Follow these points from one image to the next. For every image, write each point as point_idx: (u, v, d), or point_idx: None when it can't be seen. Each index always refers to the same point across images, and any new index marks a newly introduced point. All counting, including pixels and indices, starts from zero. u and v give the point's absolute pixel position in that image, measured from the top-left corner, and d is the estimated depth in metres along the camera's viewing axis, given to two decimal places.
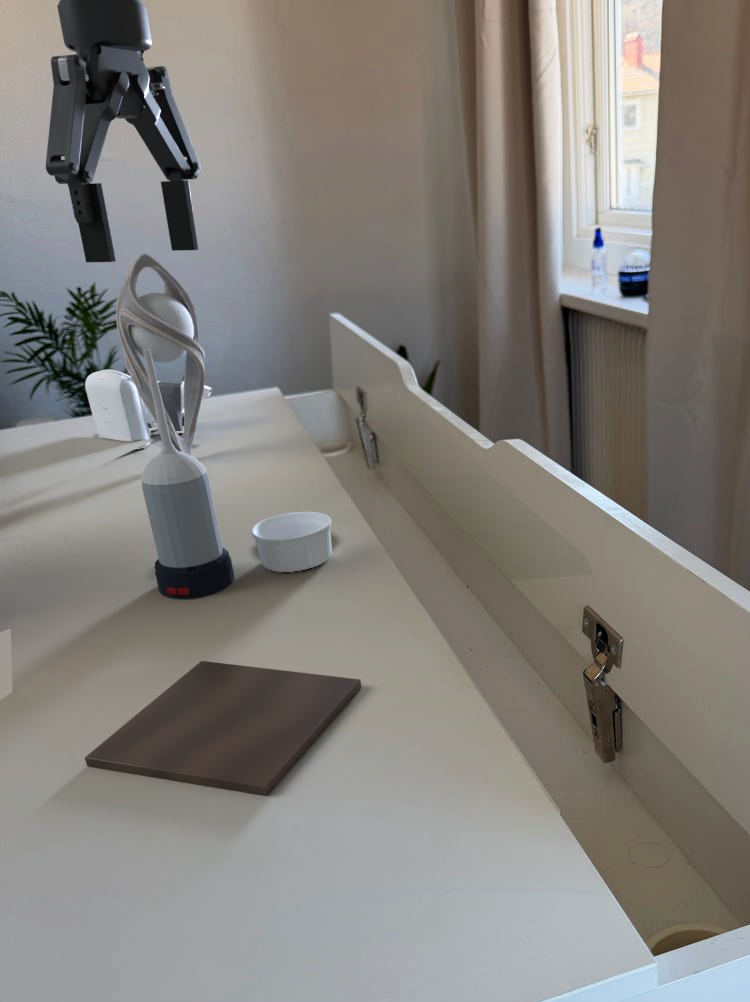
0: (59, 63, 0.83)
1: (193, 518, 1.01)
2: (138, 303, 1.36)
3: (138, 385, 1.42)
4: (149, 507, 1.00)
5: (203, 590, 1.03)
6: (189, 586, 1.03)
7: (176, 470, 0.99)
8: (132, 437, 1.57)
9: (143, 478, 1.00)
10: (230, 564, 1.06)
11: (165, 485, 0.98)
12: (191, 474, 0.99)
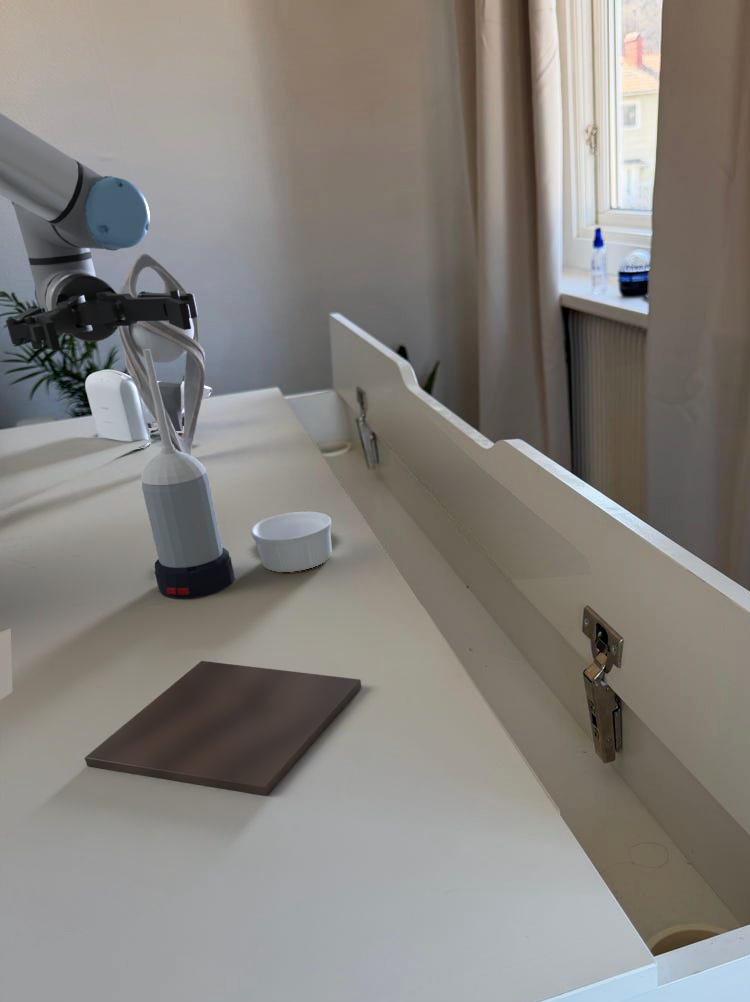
0: None
1: (193, 518, 1.01)
2: None
3: (138, 385, 1.42)
4: (149, 507, 1.00)
5: (203, 590, 1.03)
6: (189, 586, 1.03)
7: (176, 470, 0.99)
8: (132, 437, 1.57)
9: (143, 478, 1.00)
10: (230, 564, 1.06)
11: (165, 485, 0.98)
12: (191, 474, 0.99)
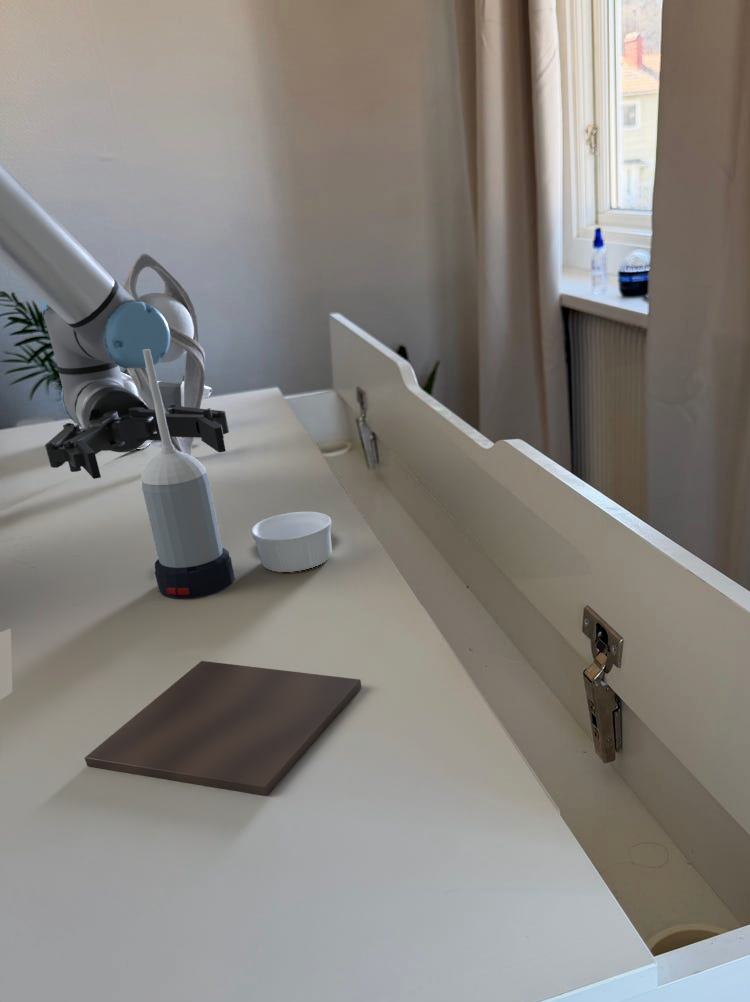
0: None
1: (193, 518, 1.01)
2: None
3: (138, 385, 1.42)
4: (149, 507, 1.00)
5: (203, 590, 1.03)
6: (189, 586, 1.03)
7: (176, 470, 0.99)
8: None
9: (143, 478, 1.00)
10: (230, 564, 1.06)
11: (165, 485, 0.98)
12: (191, 474, 0.99)
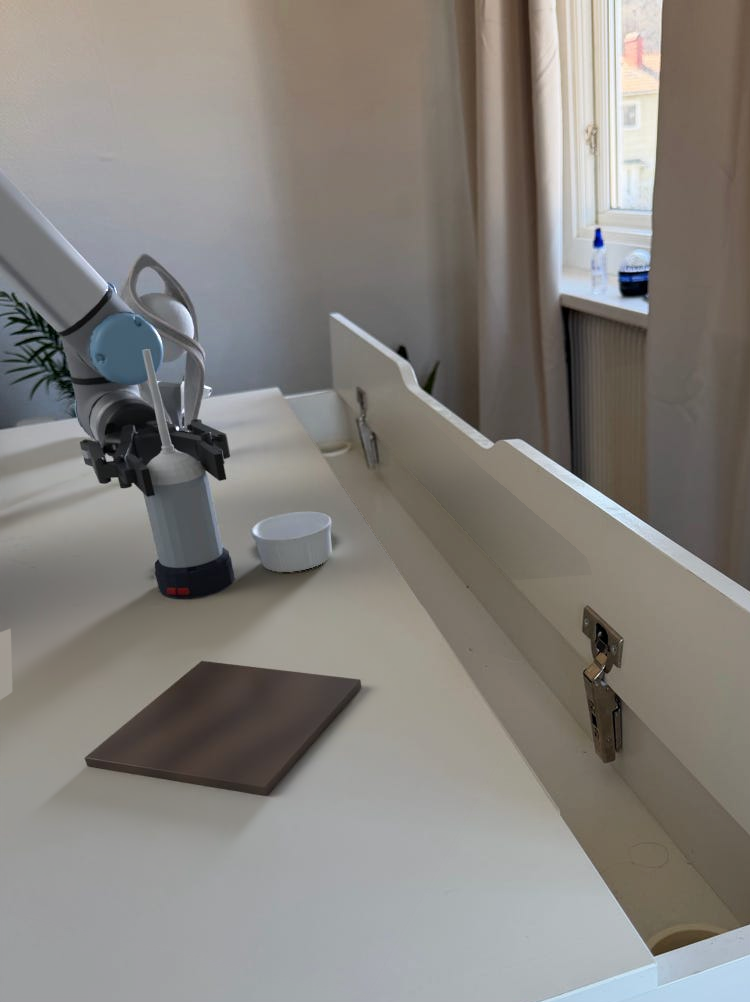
0: None
1: (193, 518, 1.01)
2: (138, 303, 1.36)
3: (138, 385, 1.42)
4: (149, 507, 1.00)
5: (203, 590, 1.03)
6: (189, 586, 1.03)
7: (176, 470, 0.99)
8: None
9: None
10: (230, 564, 1.06)
11: (165, 485, 0.98)
12: (191, 474, 0.99)
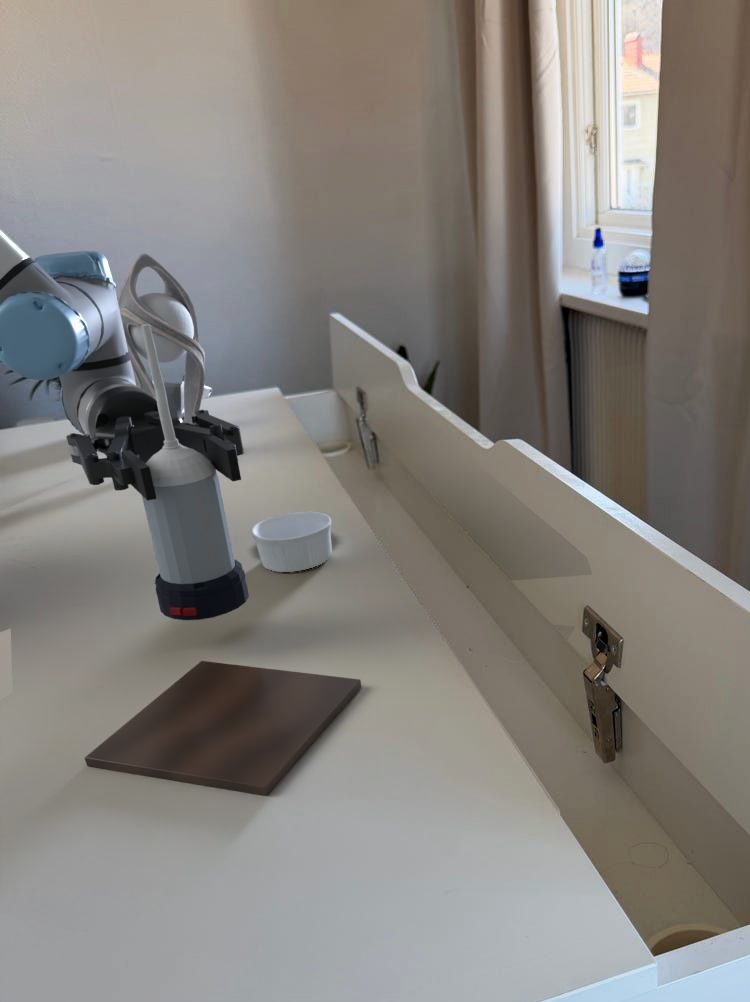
0: None
1: (201, 525, 0.85)
2: (138, 303, 1.36)
3: (138, 385, 1.42)
4: (149, 513, 0.85)
5: (213, 610, 0.88)
6: (196, 606, 0.87)
7: (181, 469, 0.83)
8: None
9: None
10: (244, 579, 0.90)
11: (168, 486, 0.83)
12: (199, 474, 0.84)
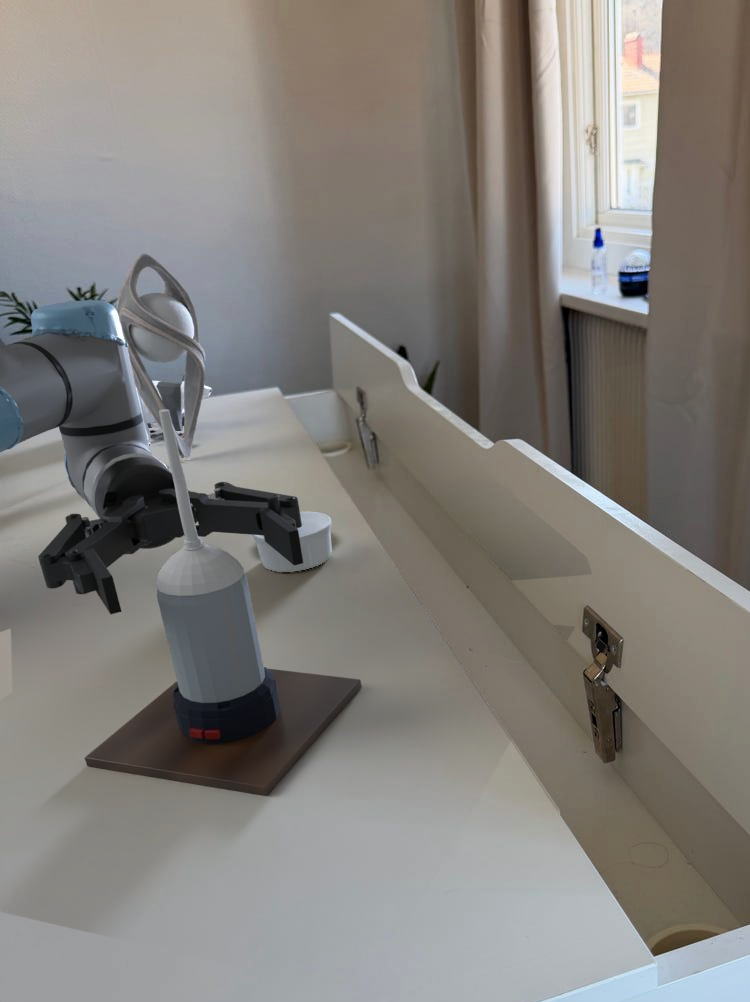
0: None
1: (227, 638, 0.73)
2: (138, 303, 1.36)
3: (138, 385, 1.42)
4: (166, 623, 0.73)
5: (239, 732, 0.76)
6: (221, 728, 0.75)
7: (204, 575, 0.71)
8: None
9: (158, 584, 0.72)
10: (275, 692, 0.78)
11: (189, 595, 0.71)
12: (225, 580, 0.72)
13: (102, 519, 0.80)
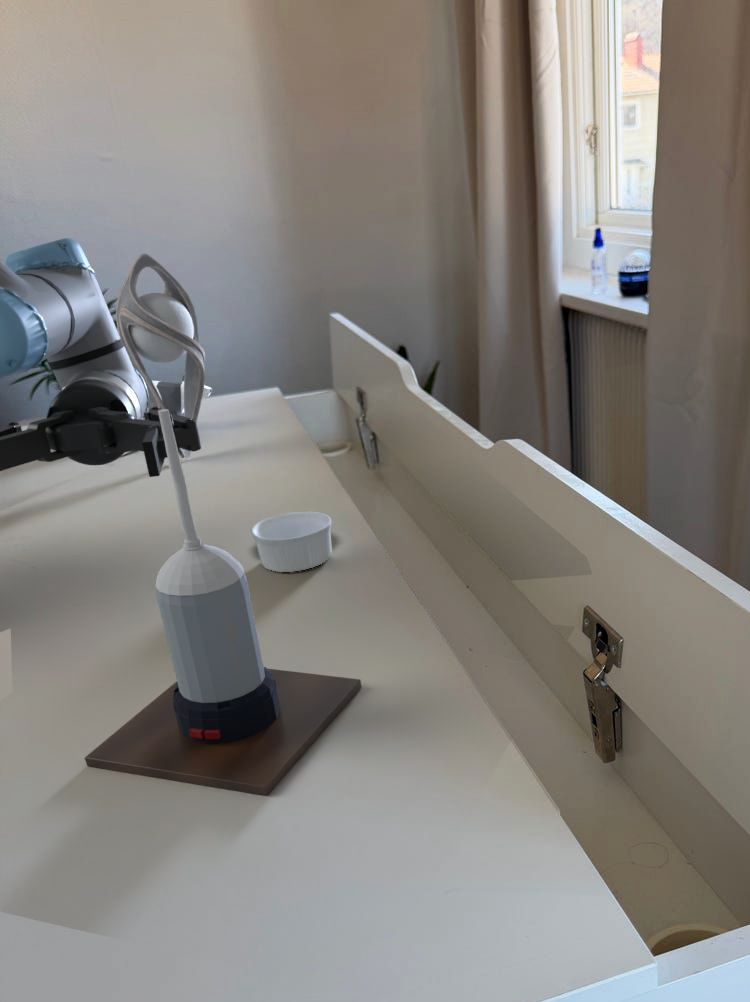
0: None
1: (227, 638, 0.73)
2: (138, 303, 1.36)
3: None
4: (166, 623, 0.73)
5: (239, 732, 0.76)
6: (221, 728, 0.75)
7: (204, 575, 0.71)
8: None
9: (158, 584, 0.72)
10: (275, 692, 0.78)
11: (189, 595, 0.71)
12: (224, 580, 0.72)
13: None
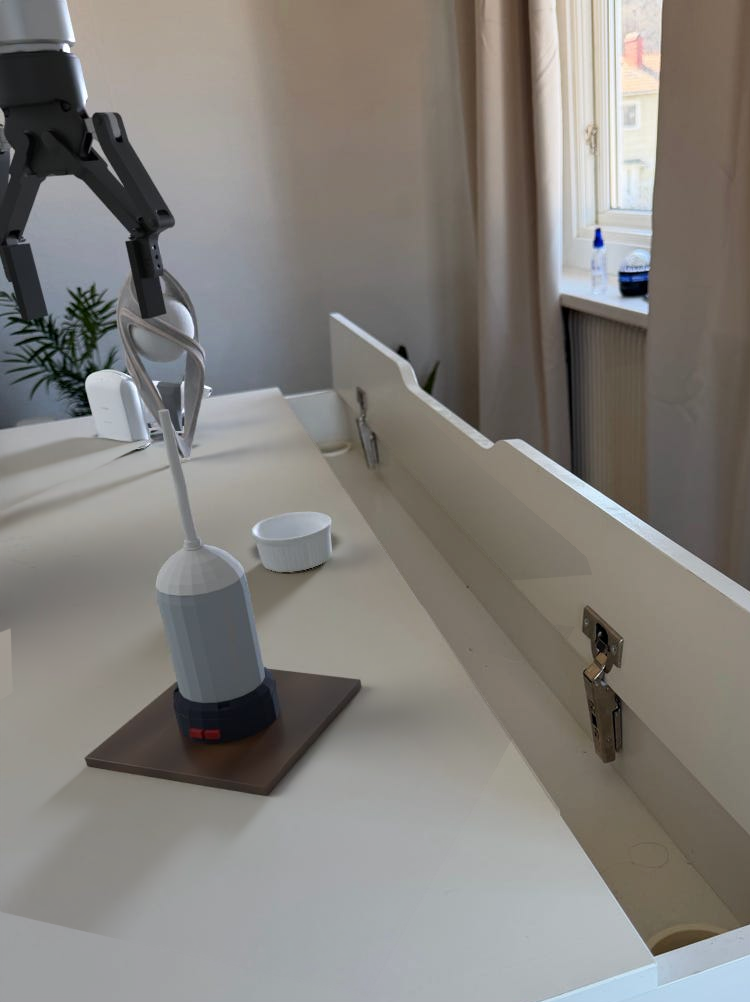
0: (110, 120, 0.81)
1: (227, 638, 0.73)
2: (138, 303, 1.36)
3: (138, 385, 1.42)
4: (166, 623, 0.73)
5: (239, 732, 0.76)
6: (221, 728, 0.75)
7: (204, 575, 0.71)
8: (132, 437, 1.57)
9: (158, 584, 0.72)
10: (275, 692, 0.78)
11: (189, 595, 0.71)
12: (224, 580, 0.72)
13: None
